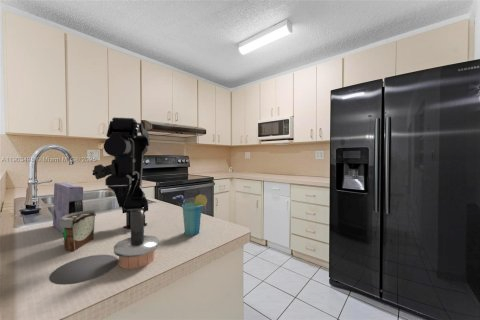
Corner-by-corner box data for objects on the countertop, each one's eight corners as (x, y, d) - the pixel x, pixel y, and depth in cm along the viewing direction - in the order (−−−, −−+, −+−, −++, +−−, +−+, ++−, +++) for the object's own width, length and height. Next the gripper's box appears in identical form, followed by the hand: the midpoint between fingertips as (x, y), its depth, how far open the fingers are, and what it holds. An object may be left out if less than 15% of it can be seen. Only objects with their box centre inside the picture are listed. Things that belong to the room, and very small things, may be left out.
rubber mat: (34, 279, 49) (34, 277, 49) (92, 253, 63) (92, 251, 63) (78, 291, 45) (78, 289, 45) (130, 260, 59) (130, 258, 59)
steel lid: (103, 253, 54) (103, 214, 54) (136, 237, 65) (136, 204, 65) (138, 259, 51) (138, 218, 51) (167, 242, 61) (167, 207, 61)
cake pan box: (84, 233, 79) (84, 185, 79) (68, 237, 75) (67, 187, 75) (67, 223, 90) (67, 181, 90) (52, 226, 86) (51, 182, 86)
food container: (77, 238, 74) (77, 210, 73) (96, 238, 74) (95, 209, 74) (48, 255, 61) (48, 221, 61) (71, 255, 62) (70, 220, 62)
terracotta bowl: (112, 267, 55) (111, 252, 55) (136, 253, 63) (136, 239, 63) (138, 272, 53) (138, 256, 53) (160, 257, 61) (160, 243, 61)
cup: (178, 242, 71) (178, 197, 71) (167, 235, 77) (167, 194, 76) (211, 231, 81) (211, 192, 81) (199, 226, 87) (199, 190, 87)
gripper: (105, 156, 76) (105, 199, 77) (83, 156, 59) (84, 212, 59) (139, 156, 80) (139, 197, 80) (128, 156, 62) (129, 210, 62)
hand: (124, 203), depth 70 cm, fingers open, 9 cm apart
